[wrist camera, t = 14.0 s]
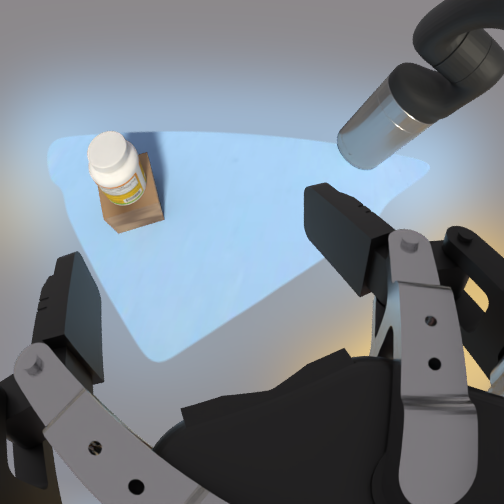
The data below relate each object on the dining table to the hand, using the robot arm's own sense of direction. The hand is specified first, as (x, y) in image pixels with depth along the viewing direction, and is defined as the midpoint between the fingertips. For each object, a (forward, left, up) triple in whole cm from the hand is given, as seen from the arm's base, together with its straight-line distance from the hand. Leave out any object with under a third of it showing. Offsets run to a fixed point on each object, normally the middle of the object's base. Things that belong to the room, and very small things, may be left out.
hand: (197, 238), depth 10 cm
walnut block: (+5, -14, -33) cm, 36 cm away
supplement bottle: (+5, -14, -25) cm, 29 cm away
